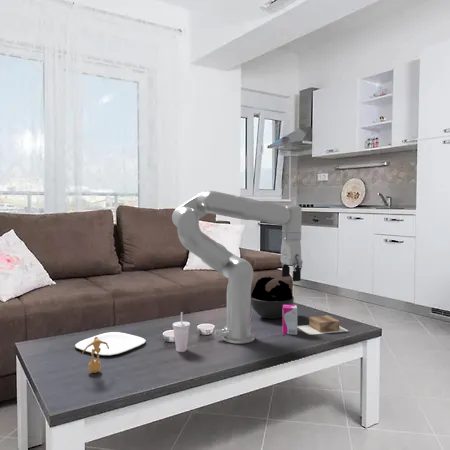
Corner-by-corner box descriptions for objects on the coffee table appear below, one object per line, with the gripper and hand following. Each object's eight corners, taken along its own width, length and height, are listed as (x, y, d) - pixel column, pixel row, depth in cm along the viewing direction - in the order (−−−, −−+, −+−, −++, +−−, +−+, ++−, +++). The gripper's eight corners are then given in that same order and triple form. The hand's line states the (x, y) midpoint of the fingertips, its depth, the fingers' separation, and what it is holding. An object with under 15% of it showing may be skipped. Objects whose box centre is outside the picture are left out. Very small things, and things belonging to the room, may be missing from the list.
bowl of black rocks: (247, 312, 211) (247, 273, 209) (288, 312, 212) (289, 273, 211) (252, 324, 191) (252, 281, 189) (297, 324, 192) (298, 281, 191)
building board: (309, 336, 175) (309, 334, 175) (295, 327, 187) (295, 326, 187) (348, 332, 181) (348, 330, 181) (333, 324, 192) (333, 322, 192)
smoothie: (173, 353, 155) (173, 314, 154) (171, 347, 161) (171, 310, 161) (191, 352, 157) (191, 313, 156) (188, 346, 163) (188, 309, 162)
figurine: (105, 367, 143) (105, 331, 142) (111, 374, 138) (111, 336, 137) (79, 373, 138) (79, 335, 137) (84, 379, 133) (84, 341, 132)
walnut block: (319, 332, 178) (320, 322, 178) (309, 326, 187) (309, 316, 187) (339, 330, 181) (339, 321, 181) (327, 324, 190) (328, 315, 189)
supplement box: (296, 331, 182) (296, 304, 181) (297, 336, 176) (297, 308, 175) (282, 331, 182) (282, 304, 181) (282, 336, 176) (283, 307, 175)
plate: (109, 362, 149) (109, 357, 148) (67, 349, 160) (67, 344, 160) (152, 343, 167) (152, 339, 167) (112, 333, 178) (112, 329, 178)
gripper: (274, 234, 183) (273, 275, 184) (292, 238, 167) (292, 283, 168) (290, 234, 185) (289, 274, 187) (310, 238, 169) (309, 282, 170)
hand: (291, 278), depth 177 cm, fingers open, 9 cm apart
